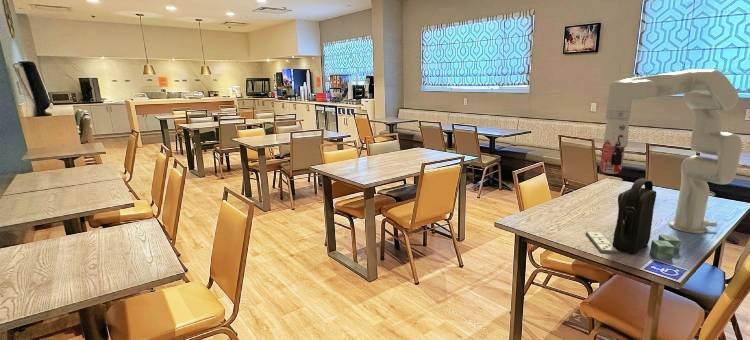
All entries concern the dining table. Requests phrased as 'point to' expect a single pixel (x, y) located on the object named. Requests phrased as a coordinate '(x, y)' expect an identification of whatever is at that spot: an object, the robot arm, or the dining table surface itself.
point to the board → (601, 242)
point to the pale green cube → (671, 241)
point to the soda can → (609, 160)
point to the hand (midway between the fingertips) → (611, 162)
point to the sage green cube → (662, 249)
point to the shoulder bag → (634, 217)
